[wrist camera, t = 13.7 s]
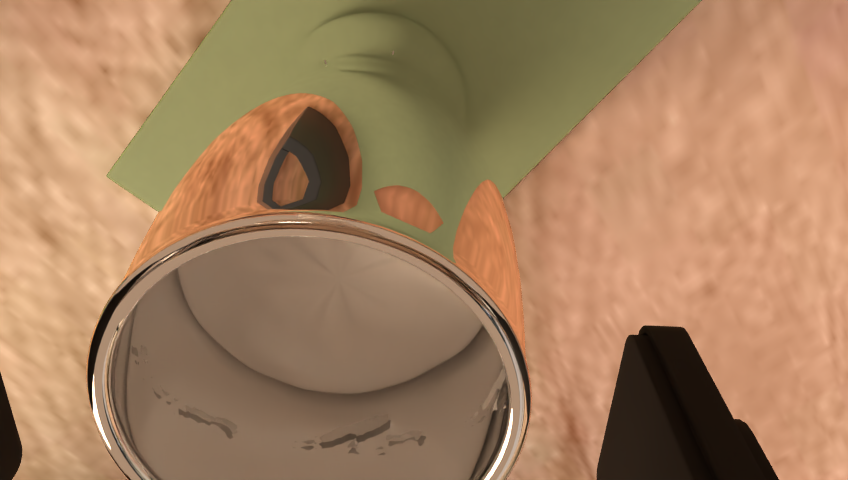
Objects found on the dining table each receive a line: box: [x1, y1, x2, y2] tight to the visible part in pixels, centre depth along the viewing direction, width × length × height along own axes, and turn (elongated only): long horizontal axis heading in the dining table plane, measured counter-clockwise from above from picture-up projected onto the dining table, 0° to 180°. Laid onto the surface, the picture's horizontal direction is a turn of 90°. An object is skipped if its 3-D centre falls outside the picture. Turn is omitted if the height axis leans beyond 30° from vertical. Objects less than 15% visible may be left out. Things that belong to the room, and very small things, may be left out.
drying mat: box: [107, 0, 702, 212], centre depth 24 cm, size 20×11×1 cm, turn 139°
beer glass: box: [86, 12, 532, 480], centre depth 17 cm, size 7×7×15 cm
